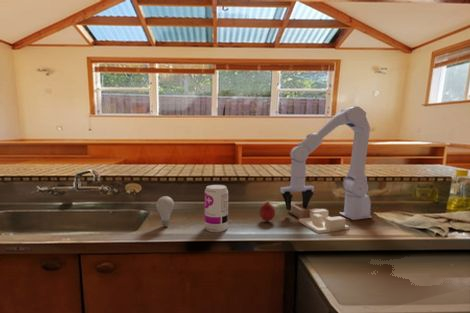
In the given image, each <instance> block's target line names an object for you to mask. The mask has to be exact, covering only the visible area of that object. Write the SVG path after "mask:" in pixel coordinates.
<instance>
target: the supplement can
mask: <svg viewBox="0 0 470 313" xmlns="http://www.w3.org/2000/svg"><path fill="white" fill-rule="evenodd" d="M228 227H229V190H228V188H227V186H226V185H225V184H210V185H209V184H208V185H207V186H206V187H205V189H204V229H206V231H208V232H210V233H222V232H225V231H226V230H227V229H228Z"/></svg>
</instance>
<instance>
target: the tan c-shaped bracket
mask: <svg viewBox="0 0 470 313" xmlns="http://www.w3.org/2000/svg"><path fill="white" fill-rule="evenodd" d="M302 204H303V201H302V202H293V203H292V202H291V210H288V213H290V214H292V215H293V216H295V217H297V218H298V219H301V218H310V210H316V209H319V208H316V207H315V208H307V209H305V208H303V205H302Z"/></svg>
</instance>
